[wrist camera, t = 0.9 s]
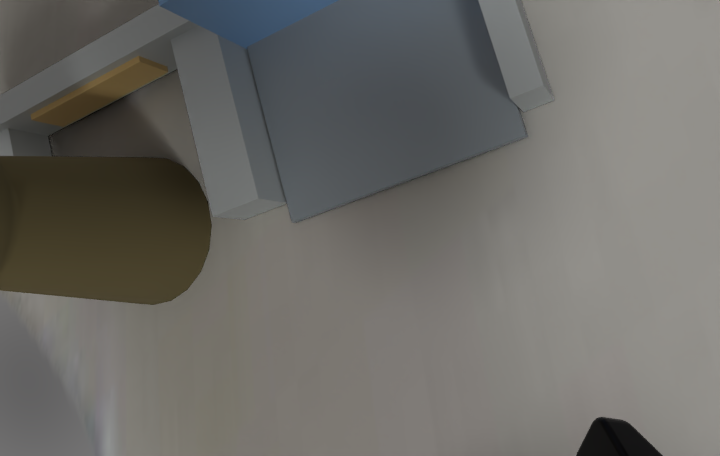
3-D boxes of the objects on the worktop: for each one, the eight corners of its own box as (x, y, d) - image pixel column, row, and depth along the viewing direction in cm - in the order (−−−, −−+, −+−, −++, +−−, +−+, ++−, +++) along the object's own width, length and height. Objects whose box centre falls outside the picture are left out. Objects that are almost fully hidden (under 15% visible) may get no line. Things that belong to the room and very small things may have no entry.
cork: (213, 303, 26) (-70, 331, 16) (97, 306, 29) (-210, 332, 19) (209, 149, 26) (-70, 83, 16) (94, 165, 29) (-208, 116, 19)
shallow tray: (562, 124, 21) (532, 86, 16) (64, 308, 29) (-46, 317, 25) (479, -126, 22) (430, -223, 18) (28, 119, 31) (-83, 95, 26)
